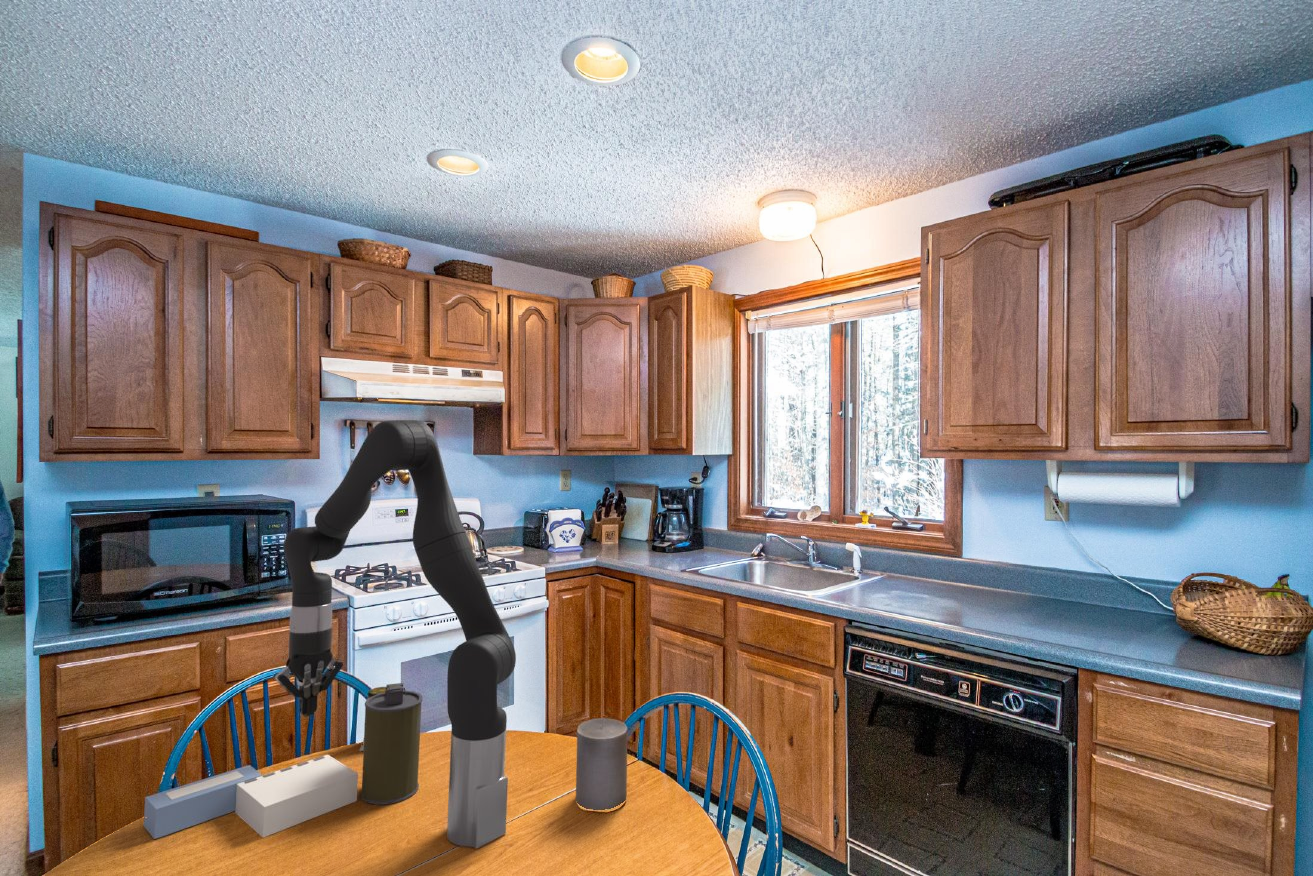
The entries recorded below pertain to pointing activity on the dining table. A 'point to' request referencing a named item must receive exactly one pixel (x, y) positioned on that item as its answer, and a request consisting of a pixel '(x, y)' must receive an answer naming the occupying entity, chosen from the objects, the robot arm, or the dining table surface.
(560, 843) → the dining table surface
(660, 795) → the dining table surface
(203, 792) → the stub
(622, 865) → the dining table surface
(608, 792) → the pillar candle
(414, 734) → the canister
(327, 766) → the white box
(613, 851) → the dining table surface
